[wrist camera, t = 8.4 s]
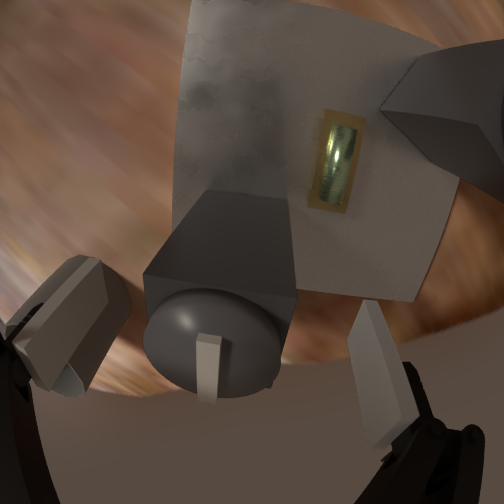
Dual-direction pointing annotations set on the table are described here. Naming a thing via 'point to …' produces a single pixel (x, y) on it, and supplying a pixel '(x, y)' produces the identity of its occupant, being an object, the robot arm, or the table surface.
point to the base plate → (310, 137)
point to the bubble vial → (335, 160)
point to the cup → (97, 338)
